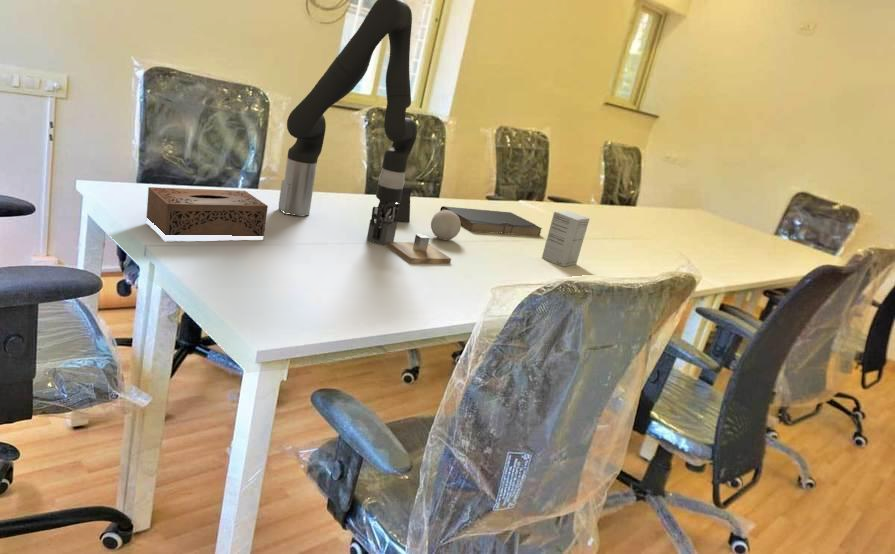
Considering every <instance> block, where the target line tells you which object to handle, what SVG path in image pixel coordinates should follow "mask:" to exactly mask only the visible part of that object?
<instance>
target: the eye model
mask: <svg viewBox="0 0 895 554" xmlns="http://www.w3.org/2000/svg"><path fill="white" fill-rule="evenodd" d="M430 228H431V232H432V234H433V235H434V236H435V237H437V238H438V239H440V240H442V241H443V240H444V241H448V240H449V241H450V240H452V239H454V238H455V237H457V236H458V234H459V232H460V231H461V228H462V226H461V222H460V219H459V217H458V216H457V214H455V213H454V212H452V211H450V210H442V211H440V210H439V211H438V212H436V213H435V214H434V215H433V217H432V219H431V222H430Z"/></svg>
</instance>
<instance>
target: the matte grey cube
mask: <svg viewBox="0 0 895 554" xmlns="http://www.w3.org/2000/svg"><path fill="white" fill-rule="evenodd" d="M414 236H415V237H414V246H413V249H415V250H416V251H417V252H427V247H428V244H429V242H430V237H429V236H428V235H426V234H420V233H419V234H418V233H416V234H415V235H414Z"/></svg>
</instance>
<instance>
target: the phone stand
mask: <svg viewBox="0 0 895 554" xmlns="http://www.w3.org/2000/svg"><path fill="white" fill-rule="evenodd" d="M411 194H412V187H411V186H410V185H404V186H403V191H402V196H401V201H400V202H399V204H400V207H399V211H398V216H397V220H396V222H397V223H410V220H411V219H410V216H411Z"/></svg>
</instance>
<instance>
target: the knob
mask: <svg viewBox="0 0 895 554" xmlns="http://www.w3.org/2000/svg"><path fill="white" fill-rule="evenodd" d="M381 218H382V217H381ZM374 222H375V220H374ZM380 223H381V221H380ZM397 226H398V222H395V221H393V219H392V218H390V217H387V220H386V222H384V223H383V225H382V228H381V234H380V239H379V240H375V239H373V238H372V236H373V231H374V226H372V225H371V219H369V224H368V229H367V235H366V240H367V239H368V240H367V241H369V240H371V241H370V242H372V241H374V242H373V243H375V242H376V243H375V244H378V243H379V245H381V244H382V245H381V246H384V245H385V246H388V242H395V236H396V231H397Z"/></svg>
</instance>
